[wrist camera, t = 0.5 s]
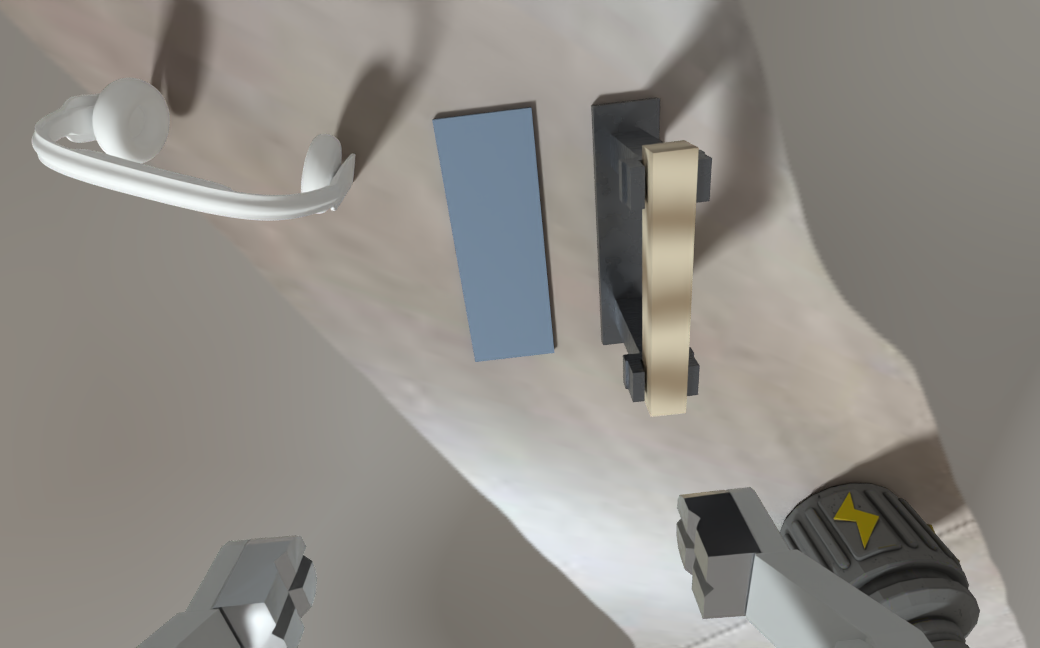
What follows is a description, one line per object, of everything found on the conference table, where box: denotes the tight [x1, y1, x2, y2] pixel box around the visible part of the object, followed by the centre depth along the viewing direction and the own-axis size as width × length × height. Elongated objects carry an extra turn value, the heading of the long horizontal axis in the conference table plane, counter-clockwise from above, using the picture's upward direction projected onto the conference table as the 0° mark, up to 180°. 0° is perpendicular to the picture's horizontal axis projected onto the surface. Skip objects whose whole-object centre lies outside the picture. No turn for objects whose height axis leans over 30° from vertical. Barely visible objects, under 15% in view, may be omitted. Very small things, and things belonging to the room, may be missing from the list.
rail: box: [642, 140, 699, 417], centre depth 42 cm, size 22×3×3 cm, turn 6°
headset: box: [32, 78, 355, 220], centre depth 41 cm, size 20×7×18 cm, turn 73°
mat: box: [433, 107, 554, 362], centre depth 54 cm, size 26×9×1 cm, turn 6°
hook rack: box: [591, 98, 712, 402], centre depth 48 cm, size 25×6×15 cm, turn 6°
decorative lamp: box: [780, 483, 980, 648], centre depth 63 cm, size 19×19×30 cm
